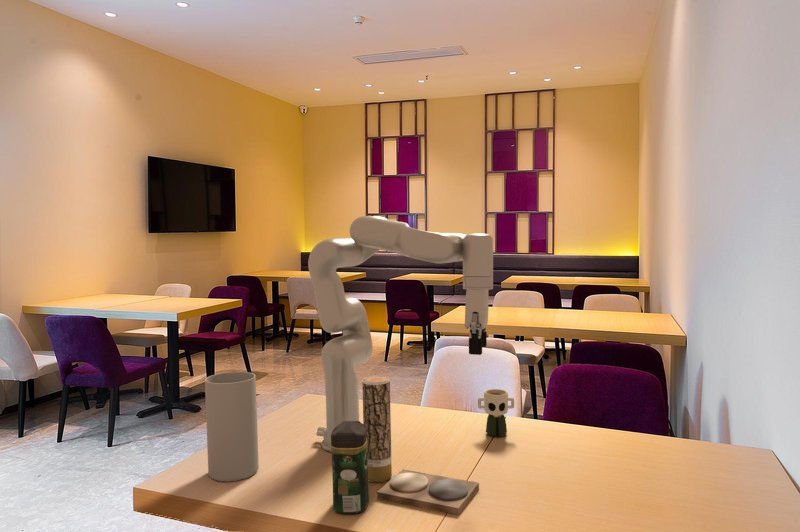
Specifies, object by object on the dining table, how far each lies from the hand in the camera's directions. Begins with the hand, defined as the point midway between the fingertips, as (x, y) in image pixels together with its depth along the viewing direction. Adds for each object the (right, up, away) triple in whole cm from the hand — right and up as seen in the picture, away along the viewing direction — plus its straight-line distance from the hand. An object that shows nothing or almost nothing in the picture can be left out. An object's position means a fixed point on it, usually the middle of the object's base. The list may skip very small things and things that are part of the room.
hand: (477, 350), depth 146 cm
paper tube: (-25, -32, -1) cm, 41 cm away
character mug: (+9, -30, +28) cm, 42 cm away
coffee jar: (-31, -33, -16) cm, 48 cm away
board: (-13, -32, -11) cm, 36 cm away
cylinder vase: (-63, -33, +4) cm, 71 cm away
